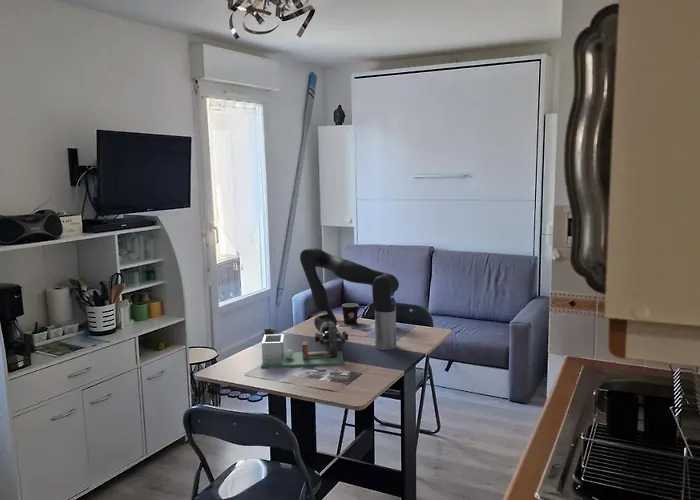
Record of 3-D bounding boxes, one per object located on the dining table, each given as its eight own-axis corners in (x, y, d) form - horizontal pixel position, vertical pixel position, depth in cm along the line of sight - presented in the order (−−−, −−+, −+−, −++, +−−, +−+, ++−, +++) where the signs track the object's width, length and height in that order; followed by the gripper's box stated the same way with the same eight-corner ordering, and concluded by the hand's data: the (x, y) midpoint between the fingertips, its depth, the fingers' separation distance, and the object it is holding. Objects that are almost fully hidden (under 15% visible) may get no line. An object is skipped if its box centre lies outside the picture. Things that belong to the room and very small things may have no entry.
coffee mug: (340, 325, 301) (339, 306, 300) (345, 321, 309) (344, 302, 308) (361, 326, 298) (361, 307, 296) (366, 322, 306) (365, 303, 305)
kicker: (336, 353, 250) (336, 324, 248) (337, 357, 245) (336, 327, 243) (302, 355, 249) (302, 325, 247) (302, 358, 244) (301, 328, 242)
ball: (293, 356, 248) (293, 347, 248) (293, 359, 245) (292, 350, 244) (284, 357, 248) (283, 348, 248) (283, 360, 244) (283, 351, 244)
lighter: (260, 349, 262) (260, 328, 261) (265, 347, 265) (264, 326, 264) (275, 352, 259) (274, 330, 257) (280, 350, 262) (279, 328, 260)
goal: (284, 354, 252) (284, 334, 251) (283, 363, 240) (282, 342, 239) (265, 354, 252) (264, 334, 251) (262, 364, 240) (261, 343, 239)
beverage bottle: (396, 325, 298) (396, 287, 296) (396, 330, 290) (395, 291, 287) (379, 325, 299) (379, 287, 296) (379, 330, 291) (378, 291, 288)
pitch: (341, 353, 256) (341, 350, 256) (343, 365, 240) (343, 362, 240) (264, 355, 254) (264, 353, 254) (261, 368, 238) (260, 365, 238)
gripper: (313, 323, 260) (316, 333, 244) (344, 322, 262) (349, 331, 246) (313, 340, 261) (316, 351, 245) (344, 338, 263) (349, 349, 247)
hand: (333, 341), depth 246 cm, fingers open, 8 cm apart
